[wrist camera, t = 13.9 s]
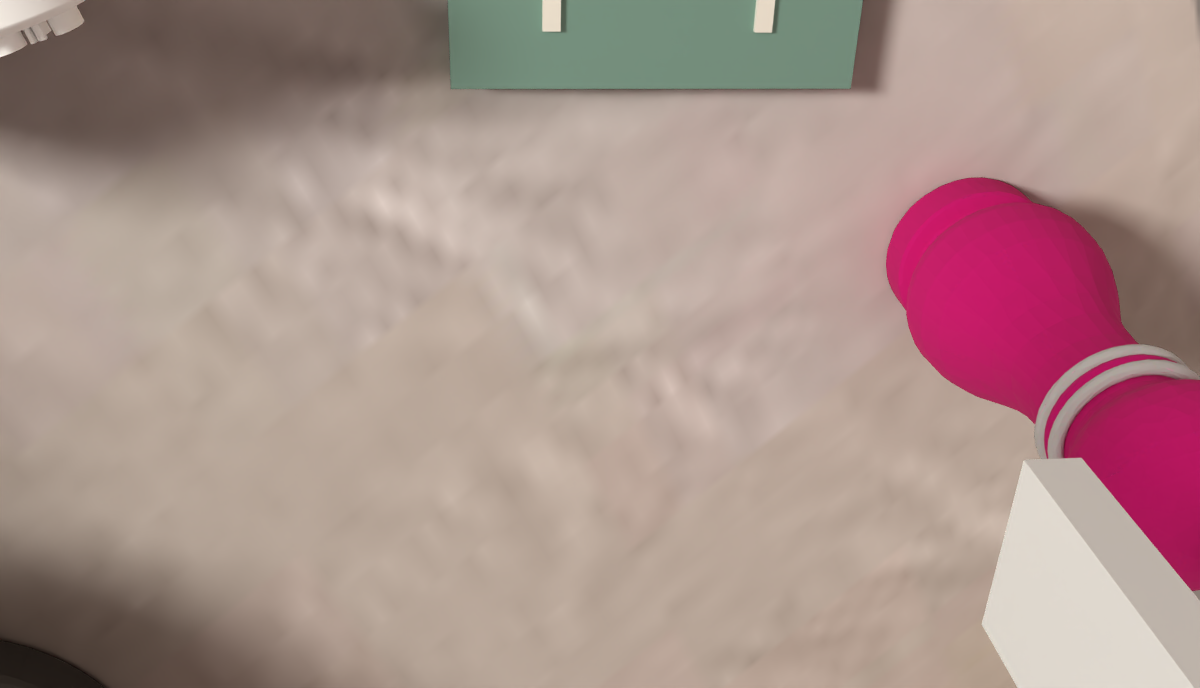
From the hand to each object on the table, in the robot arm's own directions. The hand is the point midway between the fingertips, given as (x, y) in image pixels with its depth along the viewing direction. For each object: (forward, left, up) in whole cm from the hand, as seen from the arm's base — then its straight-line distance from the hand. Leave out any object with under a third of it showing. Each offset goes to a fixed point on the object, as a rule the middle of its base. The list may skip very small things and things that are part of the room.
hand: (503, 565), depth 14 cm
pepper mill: (-9, -19, -29) cm, 36 cm away
